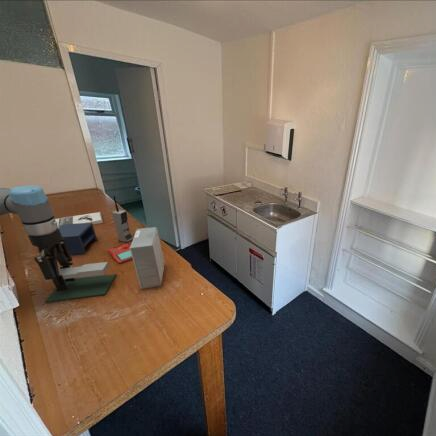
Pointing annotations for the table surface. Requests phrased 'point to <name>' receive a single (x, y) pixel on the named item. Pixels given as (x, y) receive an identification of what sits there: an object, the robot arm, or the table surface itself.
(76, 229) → the navy slotted box
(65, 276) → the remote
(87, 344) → the table surface
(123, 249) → the handheld gaming console
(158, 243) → the hard drive box
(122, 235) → the vintage mobile phone
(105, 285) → the mat
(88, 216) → the book
